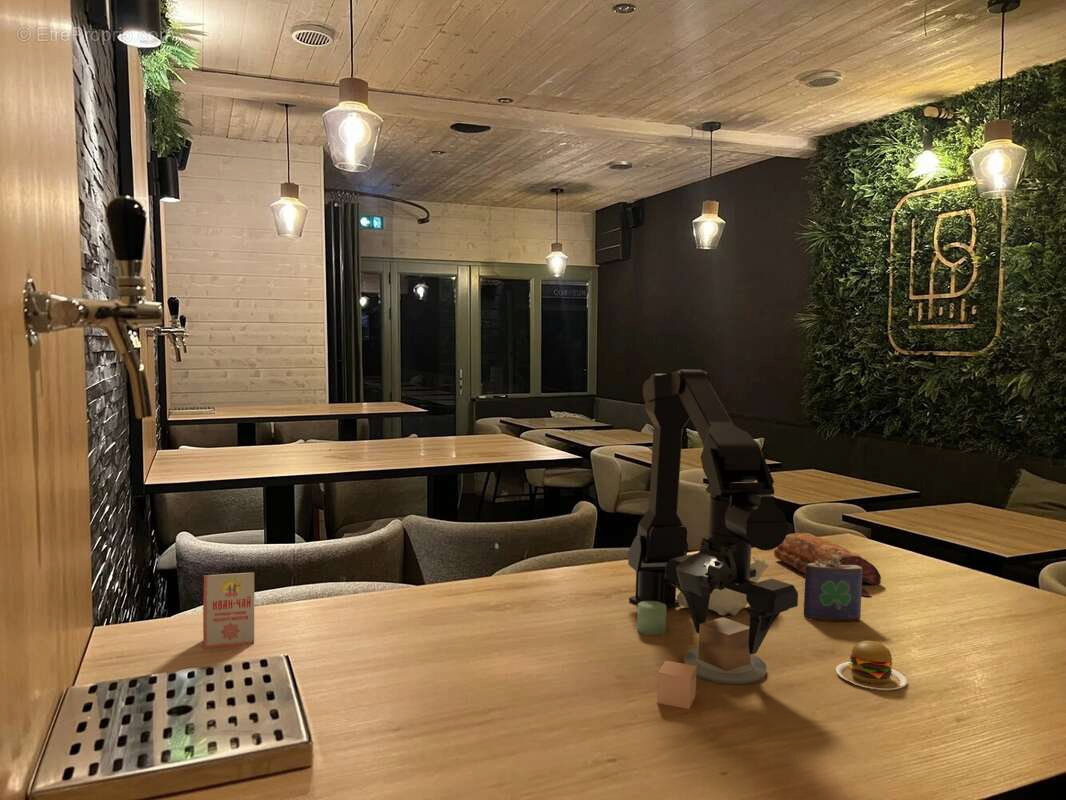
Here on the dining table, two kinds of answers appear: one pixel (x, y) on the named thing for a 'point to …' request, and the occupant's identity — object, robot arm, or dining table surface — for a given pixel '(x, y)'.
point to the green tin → (651, 618)
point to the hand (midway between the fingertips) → (725, 642)
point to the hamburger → (871, 665)
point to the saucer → (734, 676)
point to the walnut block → (724, 644)
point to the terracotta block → (676, 684)
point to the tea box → (228, 610)
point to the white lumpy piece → (730, 594)
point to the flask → (833, 591)
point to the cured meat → (822, 555)
